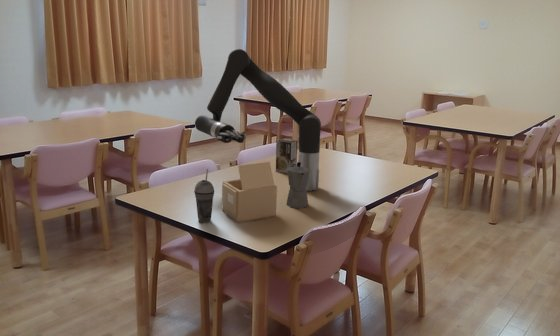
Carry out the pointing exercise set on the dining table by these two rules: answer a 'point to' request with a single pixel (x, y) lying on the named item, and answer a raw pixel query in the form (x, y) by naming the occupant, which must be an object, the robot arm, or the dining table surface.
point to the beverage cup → (204, 200)
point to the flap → (256, 175)
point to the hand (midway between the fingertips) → (241, 140)
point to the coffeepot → (297, 186)
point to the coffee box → (285, 154)
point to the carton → (248, 201)
